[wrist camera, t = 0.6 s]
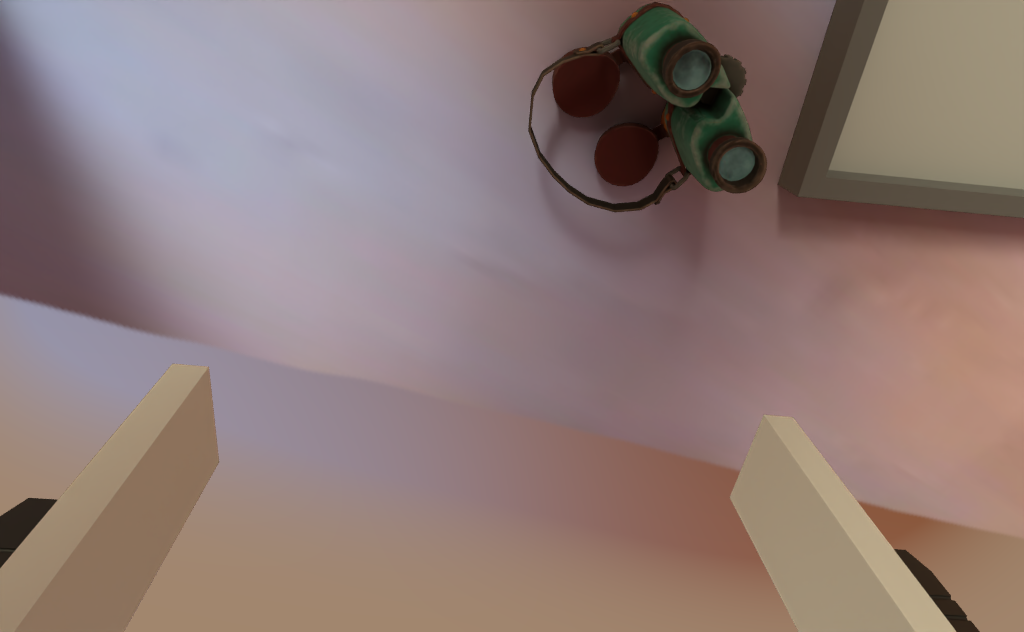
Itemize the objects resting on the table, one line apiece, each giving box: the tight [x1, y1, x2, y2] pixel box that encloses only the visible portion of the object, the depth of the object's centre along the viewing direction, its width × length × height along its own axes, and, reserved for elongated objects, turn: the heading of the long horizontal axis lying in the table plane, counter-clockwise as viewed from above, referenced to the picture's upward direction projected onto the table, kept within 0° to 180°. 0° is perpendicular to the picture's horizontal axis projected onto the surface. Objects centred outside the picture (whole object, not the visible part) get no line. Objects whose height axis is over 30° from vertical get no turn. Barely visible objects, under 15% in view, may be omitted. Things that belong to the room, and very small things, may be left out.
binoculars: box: [528, 2, 767, 212], centre depth 29 cm, size 9×11×10 cm
